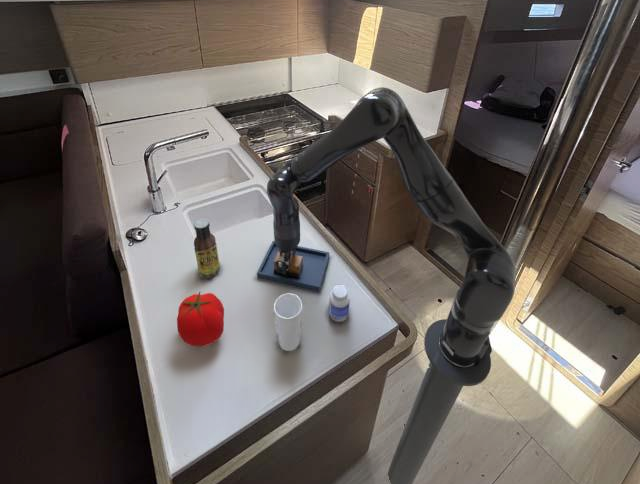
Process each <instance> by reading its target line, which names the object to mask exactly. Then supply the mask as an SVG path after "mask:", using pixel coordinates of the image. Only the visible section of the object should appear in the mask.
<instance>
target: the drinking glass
mask: <svg viewBox="0 0 640 484" xmlns="http://www.w3.org/2000/svg"><path fill="white" fill-rule="evenodd" d="M303 316H304V310H303V301H302V299H301V297H299V295H297V294H295V293H291V292H287V293H283V294H281V295H279V296H278V297H277V298H276V300H275V301H274V304H273V319H274V323H275V329H276V333H277V337H278V344H279V346H280V348H281V349H282V350H284V351H285V352H292V351H295V350H296V349H297V348H298V346H299V345H300V342H301V332H302V325H303V324H302V323H303Z"/></svg>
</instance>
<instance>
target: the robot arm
mask: <svg viewBox="0 0 640 484" xmlns="http://www.w3.org/2000/svg"><path fill="white" fill-rule="evenodd" d="M381 139H383V140H384V141H385V143H386V144H387V146H388V147H389V148H390V150H391V151H392V153H393V155H394V157H395V158H396V161H397V163H398V167H399V170H400V173H401V176H402V179H403V181H404V185H405V187H406V189H407V191H408V193H409V195H410V197H411V198H412V200H413V201H414V203H415V204H416V206H417V207H418V208H419V210H420V211H421V213H422V214H423V215H424V216H425V218H426V219H428V221H430V222H431V223H432V224H434V225H436V226H438V227H440V228H441V229H443V230H445V231H447V232H449V233H450V234H452V235H453V237H454V238H455V239H456V241H458V243H459V244H460V246H461V247H462V249H463V251H464V253H465V254H466V256H467V265H466V269H465V275H464V277H463V280H462V282H461V285H460V287H459V288H458V290H457V292H456V294H455V297H454V299H453V302H452V304H451V307H450V309H449V312H448V314H447V317H446V319H447V320H446V323H445V325H444V328H443V330H442V333H441V335H440V337H439V340H438V346H439V349H440V352H441V354H442V355H443V357H444V358H445V359H446V360H447V361H448V362H449V363H451V364H452V365H454V366H456V367H459V368H469V367H472V366H473V365H476V366H478V364H479V362H480V361H481V359H482V357H483V356H484V357H488V358H489V356H490V357H491V354H492V352H493V348H492V345H491V340H490V334H491V332H492V330H493V328H494V327H495V324H496V323H497V322H498V321H500V320H501V319H502V318H503V316H504V314H505V313H506V311H507V309H508V307H509V306H510V304H511V303H512V301H513V298H514V295H515V288H516V278H517V277H516V275H517V271H516V270H517V269H516V264H515V261H514V259H513V257H512V256H511V254H510V253H509V251H508V250H507V249H506V247H504V246H503V245H502V243H501V242H500V241H499V240H498V239H497V238H496V236H495V235H494V234H493V232H491V231H490V230H489V229H488V227H487V226H486V225H485V223H484V222H483V221H482V219H481V217H480V216H479V214H478V213H477V212H476V210H475V208H474V207H473V206H472V204H471V203H470V201H469V200H468V198H467V197H466V195H465V194H464V192H463V190H462V189H461V188H460V186H459V184H458V183H457V182H456V180H455V179H454V177H453V176H452V175H451V173H450V172H449V171H448V169H447V168H446V167H445V164H443V162H442V161H441V160H440V158H439V156H438V155H437V154H436V152H435V151H434V149H432V147H431V146H430V144H429V143H428V141H426V139H425V138H424V136H423V135H422V133H421V132H420V129H419V128H418V126H417V124H416V123H415V120H414V119H413V117H412V115H411V113H410V111H409V109H408V108H407V106H406V104H405V102H404V100H403V99H402V98H401V95H399V94H398V93H397V92H396V91H394V90H393V89H390V88H389V87H381V86H380V87H376V88H374V89H371V90H369V91H368V92H366V93H365V94H364V95H363V96H361V97H360V99H359V100H357V102H356V104H355V105H354V106H353V107H352V109H351V110H350V111H349V112H348V113H347V114H346V116H345V117H344V118H343V119H342V120H341V121H340V122H339V123H338V124H337V125H336V126H335V127H334V128H333V129H331V130H330V132H329V131H328V133H327V134H325V135H323V136H322V137H320V138H319V139H317V140H315V141H314V142H313V143H311V144H310V145H308V146H307V147H306V148H305V149H303V150H302V151H301V152H299V153H298V154H297V155H296V156H295V157H292V158H291V159H289V160H287V161H286V162H284V163H283V164H282V165H281V166H280V167H279V168H277V170H276V171H275V172H274V173H273V174H272V175H271V177H270V178H269V180H268V181H267V184H266V194H267V195H266V196H267V197H268V199H269V203H270V204H271V207H272V214H273V215H272V216H273V223H272V227H273V239H274V240H273V241H275V244H276V246H277V247H278V248H279V253H280V258H279V261H278V260H277V261H276V266H277V270H278V273H282V277H287V278H289V265H290V263H291V261H292V254H293V255H295V253H296V249H297V247H298V246H299V244H300V243H301V220H300V206H299V201H298V199H297V198H296V197H295V196H294V194H295V192H296V191H297V189H298V188H299V187H300V185H301V184H303V183H304V182H305V183H306V182H310V181H312V180H314V179H316V178H317V177H319V176H320V175H321V174H323V173H325V172H326V171H327V170H329V169H330V168H331V167H332V166H334V165H336V164H337V163H339V161H341V160H342V159H344V158H345V157H346V156H348V155H350V154H351V153H354V152H355V151H357V150H359V149H361V148H363V147H366V146H368V145H370V144H373V143H374V142H377V141H379V140H381ZM288 259H289V260H288ZM286 264H287V266H286Z"/></svg>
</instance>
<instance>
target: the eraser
mask: <svg viewBox="0 0 640 484" xmlns="http://www.w3.org/2000/svg"><path fill="white" fill-rule="evenodd" d="M279 258H280V253H279V252H278V253H277V255H276V257H275V259H274V274H278V275H282V273H278V270H277V266H276V261H277V260H278V261H279ZM288 260H289V259H288ZM286 266H287V264H286ZM302 268H303V257H302V256H297V255H293V254H292V261H291V263H290V265H289V277H292V278H296V279H299V276H300V274H301V271H302Z"/></svg>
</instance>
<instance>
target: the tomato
mask: <svg viewBox="0 0 640 484" xmlns="http://www.w3.org/2000/svg"><path fill="white" fill-rule="evenodd" d="M224 318H225V307H224V305H223V303H222V301H221V300H220V298H219V297H217V296H216V294H215V293H212V292H207V293H203V294H201V291H199V292H198V293H193V294H191V295H189V296H187V297H185V298H184V299H183V300H182V302H180V304H179V306H178V311H177V317H176V326H177V333H178V335H179V337H180V339H181V340H182V341H183V342H184V343H185V344H187V345H188V346H190V347H205V346H208V345H212V344H214V343H215V342H217V341H218V340H219V339H220V338H221V336H222V335H223V332H224V329H225V328H224V327H225V321H224Z"/></svg>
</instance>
